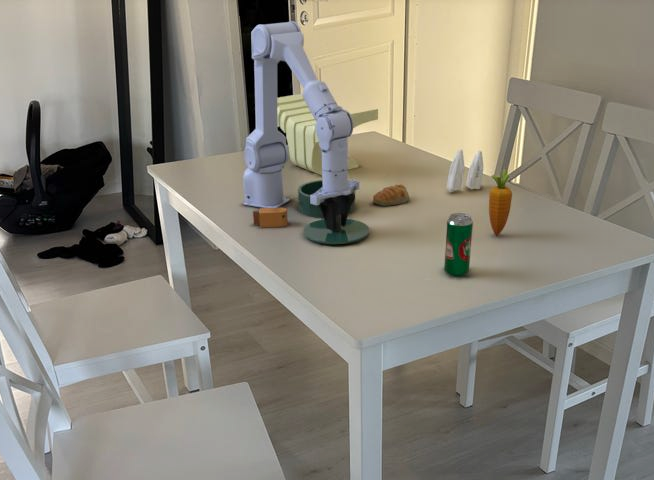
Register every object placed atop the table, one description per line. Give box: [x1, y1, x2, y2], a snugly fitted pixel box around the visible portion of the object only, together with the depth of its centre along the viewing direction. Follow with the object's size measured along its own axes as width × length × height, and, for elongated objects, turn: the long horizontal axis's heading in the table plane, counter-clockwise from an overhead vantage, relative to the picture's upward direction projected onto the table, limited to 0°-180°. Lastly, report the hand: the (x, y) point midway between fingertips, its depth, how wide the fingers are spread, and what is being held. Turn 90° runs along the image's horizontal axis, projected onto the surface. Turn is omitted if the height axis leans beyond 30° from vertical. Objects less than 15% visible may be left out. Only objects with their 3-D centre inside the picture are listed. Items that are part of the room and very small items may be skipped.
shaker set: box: [446, 149, 484, 193], centre depth 194 cm, size 12×4×11 cm, turn 122°
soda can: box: [443, 212, 474, 277], centre depth 149 cm, size 5×5×12 cm
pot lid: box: [302, 211, 370, 245], centre depth 170 cm, size 15×15×5 cm
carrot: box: [488, 169, 513, 237], centre depth 165 cm, size 5×5×15 cm
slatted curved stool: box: [277, 93, 379, 176], centre depth 212 cm, size 30×16×18 cm, turn 39°
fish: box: [252, 207, 289, 229], centre depth 176 cm, size 8×4×4 cm, turn 95°
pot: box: [297, 179, 357, 219], centre depth 185 cm, size 14×14×5 cm
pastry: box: [372, 184, 410, 207], centre depth 189 cm, size 9×7×4 cm
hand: (336, 227), depth 170 cm, fingers open, 3 cm apart
